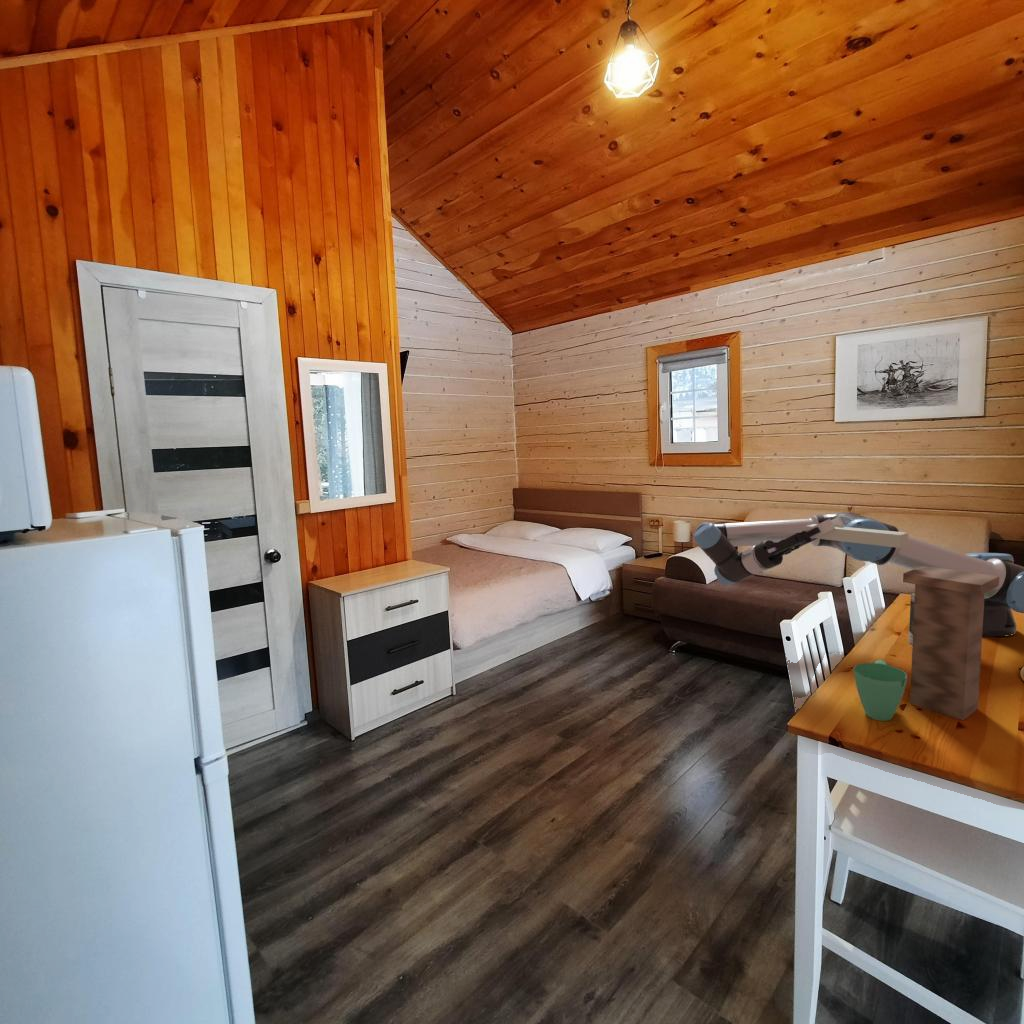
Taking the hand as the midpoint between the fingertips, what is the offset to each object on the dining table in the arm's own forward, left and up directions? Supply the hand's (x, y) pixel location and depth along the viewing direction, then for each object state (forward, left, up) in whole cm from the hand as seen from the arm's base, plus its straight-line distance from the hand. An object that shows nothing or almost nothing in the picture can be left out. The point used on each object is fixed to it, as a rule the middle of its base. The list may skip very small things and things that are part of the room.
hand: (836, 522), depth 145 cm
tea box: (-27, -21, -39) cm, 52 cm away
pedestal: (-21, +15, -39) cm, 46 cm away
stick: (-4, +2, -4) cm, 6 cm away
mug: (-8, +22, -39) cm, 45 cm away
